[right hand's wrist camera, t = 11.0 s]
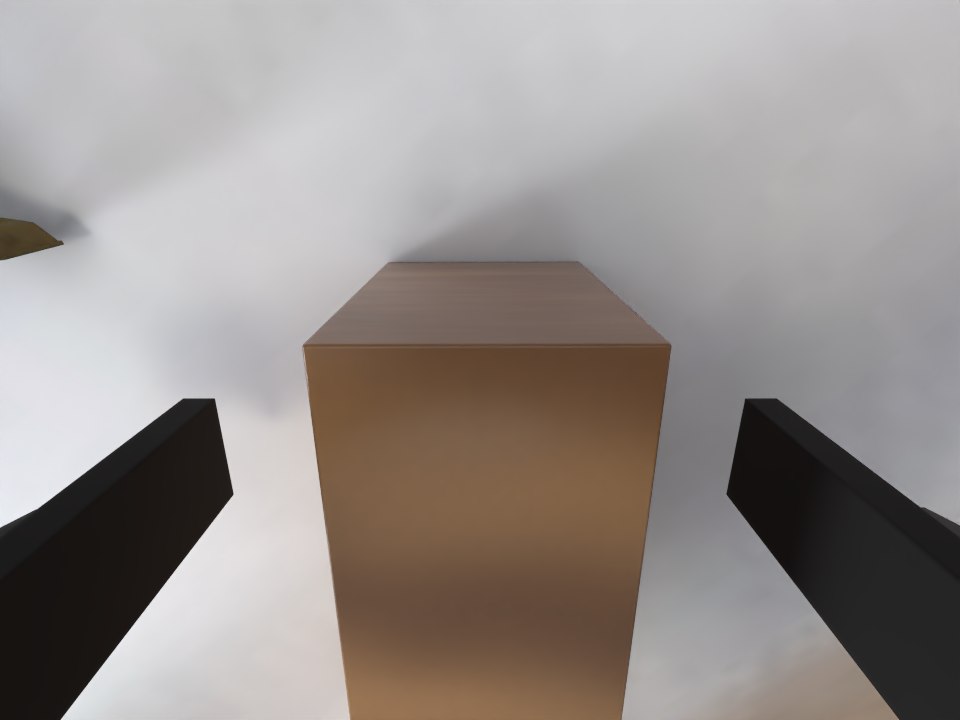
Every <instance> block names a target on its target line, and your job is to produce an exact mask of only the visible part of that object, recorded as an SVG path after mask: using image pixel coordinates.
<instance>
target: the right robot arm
mask: <svg viewBox="0 0 960 720" xmlns="http://www.w3.org/2000/svg"><path fill="white" fill-rule="evenodd" d="M232 496H233V489H232V484H231V479H230V474H229V469H228V464H227V459H226V453H225V448H224V443H223V438H222V433H221V428H220V423H219V418H218V413H217V408H216V402H215V399H182V400H181V401H179V402H178V403H177V404H176V405H174V406H173V407H172V408H170V409H169V410H168V411H166V412H165V413H164V414H162V415H161V416H160V417H158V418H157V419H156V420H154V421H153V422H152V423H150V424H149V425H148V426H147V427H145V428H144V429H143V430H141V431H140V432H139V433H137V434H136V435H135V436H133V437H132V438H131V439H129V440H128V441H127V442H125V443H124V444H123V445H121V446H120V447H119V448H118V449H116V450H115V451H114V452H112V453H111V454H110V455H108V456H107V457H106V458H104V459H103V460H102V461H100V462H99V463H98V464H96V465H95V466H94V467H92V468H91V469H90V470H89V471H87V472H86V473H85V474H83V475H82V476H81V477H79V478H78V479H77V480H75V481H74V482H73V483H71V484H70V485H69V486H67V487H66V488H65V489H63V490H62V491H61V492H60V493H58V494H57V495H56V496H54V497H53V498H52V499H50V500H49V501H48V502H46V503H45V504H44V505H42V506H41V507H40V508H38V509H36V510H34V511H32V512H30V513H28V514H26V515H24V516H22V517H20V518H18V519H17V520H15V521H13V522H11V523H9V524H7V525H5V526H3V527H1V528H0V720H61V718H62V717H63V716H64V714H65V713H66V712H67V711H68V709H69V708H70V707H71V705H72V704H73V703H74V701H75V700H76V699H77V698H78V696H79V695H80V694H81V692H82V691H83V690H84V688H85V687H86V686H87V685H88V683H89V682H90V681H91V679H92V678H93V677H94V675H95V674H96V673H97V672H98V670H99V669H100V668H101V666H102V665H103V664H104V662H105V661H106V660H107V658H108V657H109V656H110V655H111V653H112V652H113V651H114V649H115V648H116V647H117V645H118V644H119V643H120V642H121V640H122V639H123V638H124V636H125V635H126V634H127V632H128V631H129V630H130V629H131V627H132V626H133V625H134V623H135V622H136V621H137V619H138V618H139V617H140V616H141V614H142V613H143V612H144V610H145V609H146V608H147V606H148V605H149V604H150V603H151V601H152V600H153V599H154V597H155V596H156V595H157V593H158V592H159V591H160V589H161V588H162V587H163V586H164V584H165V583H166V582H167V580H168V579H169V578H170V576H171V575H172V574H173V573H174V571H175V570H176V569H177V567H178V566H179V565H180V563H181V562H182V561H183V560H184V558H185V557H186V556H187V554H188V553H189V552H190V550H191V549H192V548H193V547H194V545H195V544H196V543H197V541H198V540H199V539H200V537H201V536H202V535H203V534H204V532H205V531H206V530H207V528H208V527H209V526H210V524H211V523H212V522H213V520H214V519H215V518H216V517H217V515H218V514H219V513H220V511H221V510H222V509H223V507H224V506H225V505H226V504H227V502H228V501H229V500H230V498H231V497H232ZM727 496H728V497H729V498H730V500H731V501H732V502H733V504H734V505H735V506H736V507H737V509H738V510H739V511H740V513H741V514H742V515H743V517H744V518H745V519H746V520H747V522H748V523H749V524H750V526H751V527H752V528H753V530H754V531H755V532H756V533H757V535H758V536H759V537H760V539H761V540H762V541H763V543H764V544H765V545H766V547H767V548H768V549H769V550H770V552H771V553H772V554H773V556H774V557H775V558H776V560H777V561H778V562H779V563H780V565H781V566H782V567H783V569H784V570H785V571H786V573H787V574H788V575H789V576H790V578H791V579H792V580H793V582H794V583H795V584H796V586H797V587H798V588H799V589H800V591H801V592H802V593H803V595H804V596H805V597H806V599H807V600H808V601H809V602H810V604H811V605H812V606H813V608H814V609H815V610H816V612H817V613H818V614H819V616H820V617H821V618H822V619H823V621H824V622H825V623H826V625H827V626H828V627H829V629H830V630H831V631H832V632H833V634H834V635H835V636H836V638H837V639H838V640H839V642H840V643H841V644H842V645H843V647H844V648H845V649H846V651H847V652H848V653H849V655H850V656H851V657H852V658H853V660H854V661H855V662H856V664H857V665H858V666H859V668H860V669H861V670H862V671H863V673H864V674H865V675H866V677H867V678H868V679H869V681H870V682H871V683H872V685H873V686H874V687H875V688H876V690H877V691H878V692H879V694H880V695H881V696H882V698H883V699H884V700H885V701H886V703H887V704H888V705H889V707H890V708H891V709H892V711H893V712H894V713H895V714H896V716H897V717H898V718H899V720H960V525H958V524H956V523H954V522H952V521H950V520H948V519H946V518H944V517H942V516H940V515H938V514H936V513H934V512H932V511H930V510H928V509H926V508H920V507H919V506H918V505H916V504H915V503H914V502H912V501H911V500H910V499H908V498H907V497H906V496H904V495H903V494H902V493H900V492H899V491H898V490H897V489H895V488H894V487H893V486H891V485H890V484H889V483H887V482H886V481H885V480H883V479H882V478H881V477H879V476H878V475H877V474H875V473H874V472H873V471H871V470H870V469H869V468H868V467H866V466H865V465H864V464H862V463H861V462H860V461H858V460H857V459H856V458H854V457H853V456H852V455H850V454H849V453H848V452H846V451H845V450H844V449H842V448H841V447H840V446H839V445H837V444H836V443H835V442H833V441H832V440H831V439H829V438H828V437H827V436H825V435H824V434H823V433H821V432H820V431H819V430H817V429H816V428H815V427H813V426H812V425H811V424H810V423H808V422H807V421H806V420H804V419H803V418H802V417H800V416H799V415H798V414H796V413H795V412H794V411H792V410H791V409H790V408H788V407H787V406H786V405H784V404H783V403H782V402H781V401H779V400H778V399H745V402H744V408H743V413H742V418H741V423H740V428H739V433H738V438H737V443H736V448H735V454H734V459H733V464H732V469H731V474H730V479H729V484H728V489H727Z"/></svg>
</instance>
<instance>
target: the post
mask: <svg viewBox="0 0 960 720" xmlns="http://www.w3.org/2000/svg"><path fill="white" fill-rule="evenodd" d="M302 348H303V356H304V363H305V371H306V379H307V387H308V395H309V402H310V410H311V418H312V426H313V433H314V441H315V449H316V457H317V464H318V472H319V480H320V488H321V495H322V503H323V511H324V519H325V527H326V534H327V542H328V550H329V558H330V565H331V573H332V581H333V589H334V596H335V604H336V612H337V620H338V627H339V635H340V643H341V651H342V658H343V666H344V674H345V682H346V690H347V697H348V705H349V713H350V720H621V719H622V711H623V704H624V696H625V689H626V681H627V674H628V666H629V659H630V651H631V644H632V636H633V629H634V621H635V614H636V606H637V599H638V591H639V584H640V577H641V569H642V562H643V554H644V547H645V539H646V532H647V524H648V517H649V509H650V502H651V494H652V487H653V479H654V472H655V464H656V457H657V449H658V442H659V434H660V427H661V419H662V412H663V404H664V397H665V389H666V382H667V374H668V367H669V359H670V352H671V344H670V343H669V342H668V341H667V340H665V339H664V338H663V337H662V336H661V335H660V334H659V333H658V332H657V331H655V330H654V329H653V328H652V327H651V326H650V325H649V324H648V323H647V322H645V321H644V320H643V319H642V318H641V317H640V316H639V315H638V314H636V313H635V312H634V311H633V310H632V309H631V308H630V307H629V306H628V305H626V304H625V303H624V302H623V301H622V300H621V299H620V298H619V297H617V296H616V295H615V294H614V293H613V292H612V291H611V290H610V289H609V288H607V287H606V286H605V285H604V284H603V283H602V282H601V281H600V280H599V279H597V278H596V277H595V276H594V275H593V274H592V273H591V272H590V271H588V270H587V269H586V268H585V267H584V266H583V265H582V264H581V263H580V262H389V263H387V264H386V265H385V266H384V267H383V268H382V269H381V270H380V271H379V272H378V273H377V274H376V275H375V276H374V277H373V278H372V279H371V280H370V281H369V282H368V283H366V284H365V285H364V286H363V287H362V288H361V289H360V290H359V291H358V292H357V293H356V294H355V295H354V296H353V297H352V298H351V299H350V300H349V301H348V302H347V303H346V304H345V305H344V306H343V307H342V308H341V309H340V310H339V311H338V312H336V313H335V314H334V315H333V316H332V317H331V318H330V319H329V320H328V321H327V322H326V323H325V324H324V325H323V326H322V327H321V328H320V329H319V330H318V331H317V332H316V333H315V334H314V335H313V336H312V337H311V338H310V339H309V340H308V341H307V342H305V343H304V344H303V347H302Z"/></svg>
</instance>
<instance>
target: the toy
mask: <svg viewBox="0 0 960 720" xmlns="http://www.w3.org/2000/svg"><path fill="white" fill-rule="evenodd" d="M63 244H64V243H63V242H62V241H58V240H56V239H55V238H53V237H52V236H51V235H49V234H48V233H47V232H45V231H44V230H43V229H41V228H40V227H39V226H37V225H36V224H34V223H33V222H27V221H20V220H13V219H6V218H0V260H6V259H10V258H14V257H17V256H21V255H25V254H29V253H33V252H36V251H40V250H44V249H48V248H52V247H55V246H59V245H63Z"/></svg>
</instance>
